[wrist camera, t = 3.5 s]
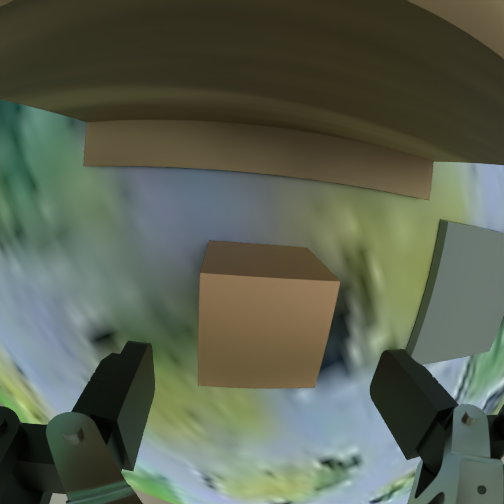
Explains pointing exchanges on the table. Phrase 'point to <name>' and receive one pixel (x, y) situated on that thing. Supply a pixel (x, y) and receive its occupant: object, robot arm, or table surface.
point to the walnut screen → (268, 83)
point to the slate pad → (460, 295)
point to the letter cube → (263, 316)
